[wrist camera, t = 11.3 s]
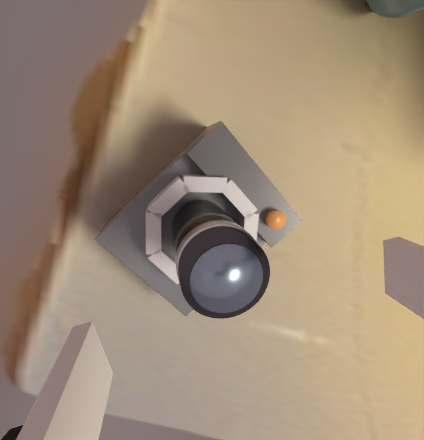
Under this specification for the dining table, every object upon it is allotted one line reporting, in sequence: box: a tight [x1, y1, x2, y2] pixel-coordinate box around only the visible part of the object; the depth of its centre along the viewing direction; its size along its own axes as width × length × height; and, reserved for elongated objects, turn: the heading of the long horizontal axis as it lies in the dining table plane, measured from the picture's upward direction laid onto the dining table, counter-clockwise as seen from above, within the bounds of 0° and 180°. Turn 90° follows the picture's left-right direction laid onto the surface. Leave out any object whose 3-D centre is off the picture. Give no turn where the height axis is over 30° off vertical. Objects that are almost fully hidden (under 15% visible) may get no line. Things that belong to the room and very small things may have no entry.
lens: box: [172, 200, 270, 318], centre depth 20 cm, size 5×5×10 cm
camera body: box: [95, 121, 302, 316], centre depth 26 cm, size 14×11×7 cm
